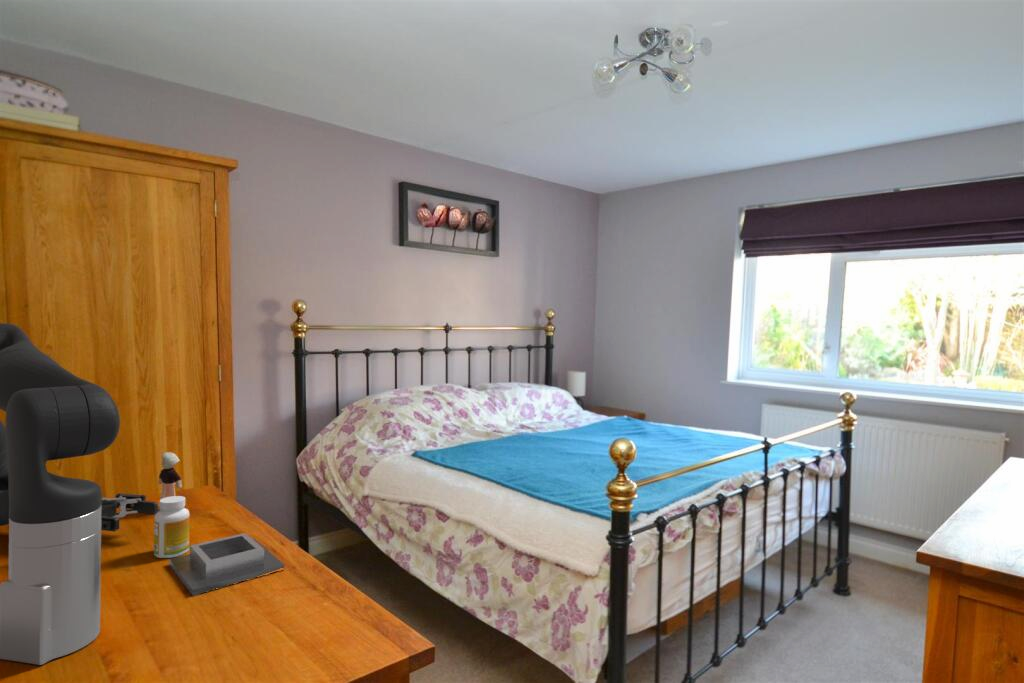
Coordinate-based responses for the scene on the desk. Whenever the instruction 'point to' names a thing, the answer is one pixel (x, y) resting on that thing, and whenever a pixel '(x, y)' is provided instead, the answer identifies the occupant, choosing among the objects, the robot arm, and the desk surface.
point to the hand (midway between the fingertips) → (137, 516)
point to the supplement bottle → (171, 528)
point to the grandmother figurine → (169, 476)
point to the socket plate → (223, 563)
